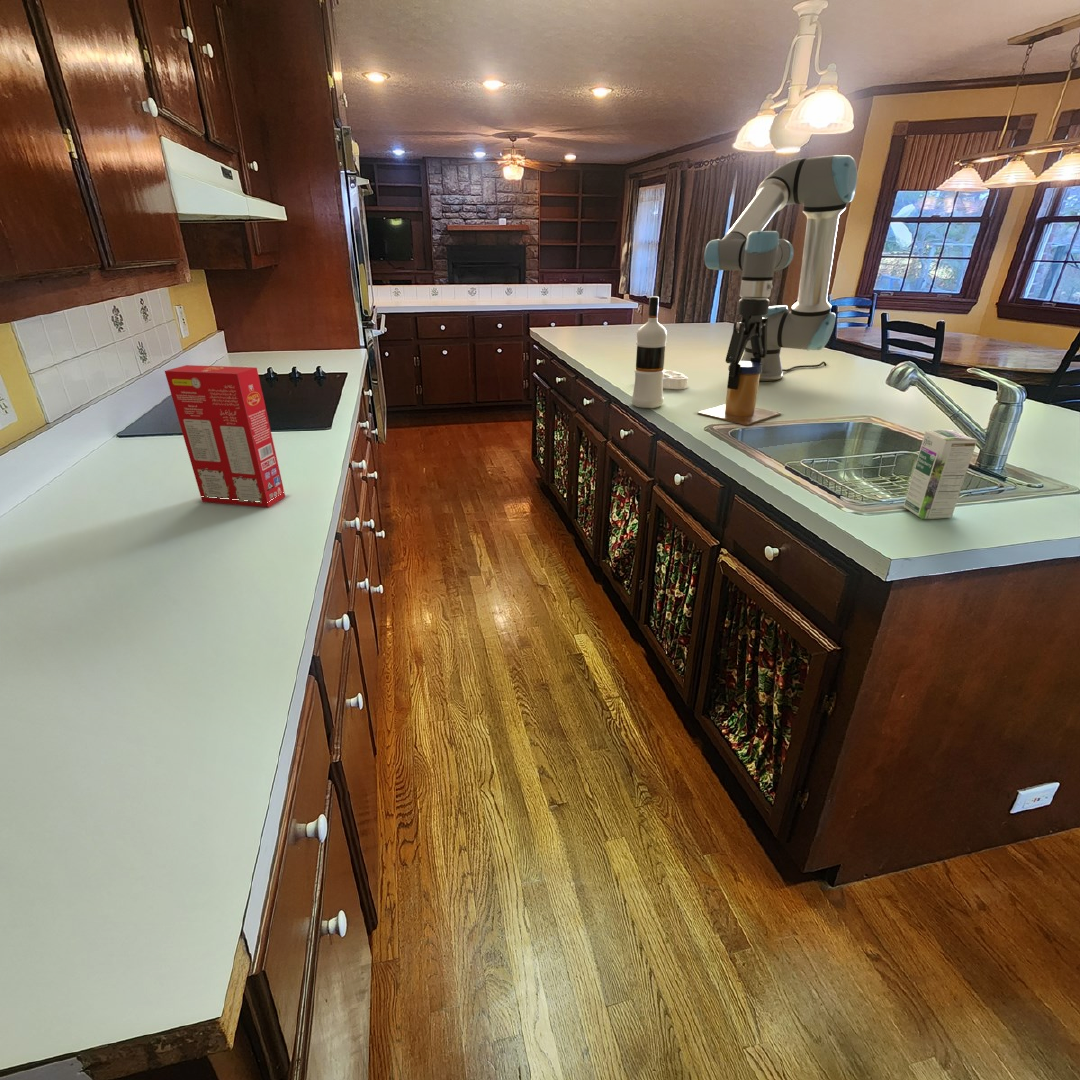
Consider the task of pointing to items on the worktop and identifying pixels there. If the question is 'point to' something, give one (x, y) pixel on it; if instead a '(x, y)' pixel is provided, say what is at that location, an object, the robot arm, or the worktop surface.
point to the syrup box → (939, 473)
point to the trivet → (744, 420)
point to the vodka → (650, 361)
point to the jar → (743, 396)
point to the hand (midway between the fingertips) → (742, 385)
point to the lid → (749, 367)
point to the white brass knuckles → (674, 380)
